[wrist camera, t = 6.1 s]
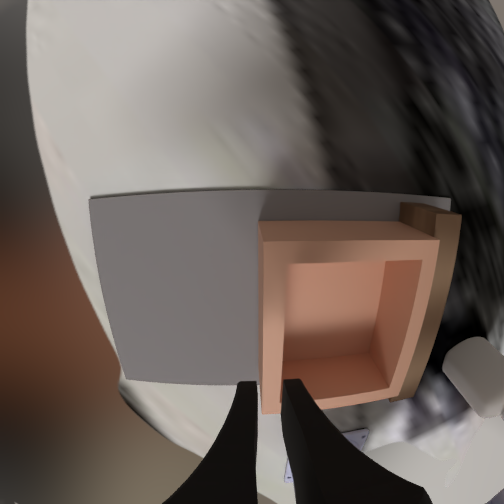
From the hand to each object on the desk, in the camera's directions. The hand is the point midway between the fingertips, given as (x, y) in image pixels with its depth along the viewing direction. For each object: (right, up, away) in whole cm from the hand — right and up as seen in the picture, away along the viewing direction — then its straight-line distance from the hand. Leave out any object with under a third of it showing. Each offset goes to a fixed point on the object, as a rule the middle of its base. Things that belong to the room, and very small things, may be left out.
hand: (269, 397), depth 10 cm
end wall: (+10, +3, +8) cm, 13 cm away
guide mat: (+1, +3, +8) cm, 9 cm away
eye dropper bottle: (+20, -4, +11) cm, 23 cm away
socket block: (+4, +3, +8) cm, 9 cm away
